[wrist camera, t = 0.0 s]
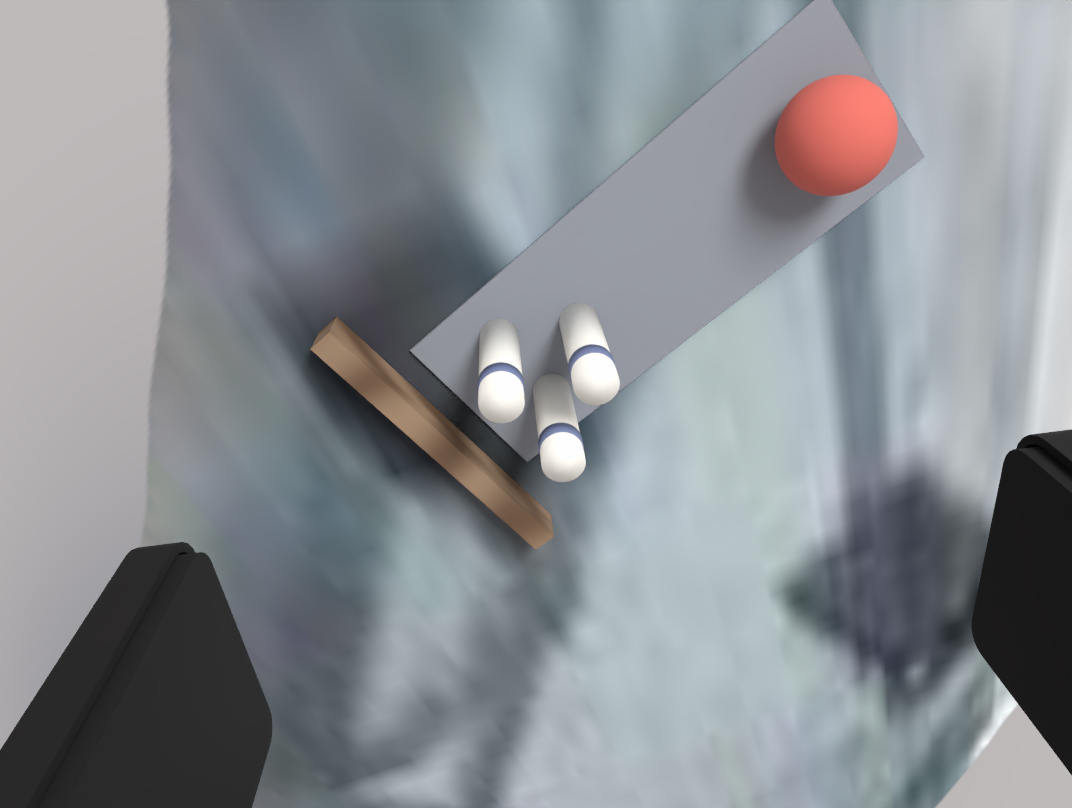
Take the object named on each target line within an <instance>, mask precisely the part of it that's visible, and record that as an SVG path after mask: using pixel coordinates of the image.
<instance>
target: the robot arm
mask: <svg viewBox="0 0 1072 808" xmlns="http://www.w3.org/2000/svg"><path fill="white" fill-rule="evenodd" d="M972 634H973V638H974V641H975V644H976V646H977V648H978V650H979V652H980V653H981V655H982V656H983V658H984V659H985V660H986V662H987V663H988V664H989V666H990V667H991V668H992V670H993V671H994V672H995V674H996V675H997V676H998V678H999V679H1000V680H1001V682H1002V683H1003V684H1004V686H1005V687H1006V688H1007V690H1008V691H1009V692H1010V694H1011V695H1012V696H1013V698H1014V699H1015V700H1016V702H1017V703H1018V704H1019V706H1020V707H1021V708H1022V710H1023V711H1024V712H1025V714H1026V715H1027V716H1028V717H1029V719H1030V720H1031V721H1032V723H1033V724H1034V726H1035V727H1036V728H1037V730H1038V731H1039V732H1040V733H1041V735H1042V736H1043V738H1044V739H1045V740H1046V741H1047V743H1048V744H1049V746H1050V747H1051V748H1052V749H1053V751H1054V752H1055V753H1056V755H1057V756H1058V757H1059V759H1060V760H1061V761H1062V763H1063V764H1064V765H1065V767H1066V768H1067V769H1068V771H1069V772H1070V773H1071V775H1072V430H1065V431H1057V432H1049V433H1041V434H1033V435H1028V436H1026V437H1024V438H1023V439H1022V440H1021V441H1020V442H1019V443H1018V446H1017V448H1016V449H1014V450H1012V451H1010V452H1009V453H1008V454H1007V455H1006V457H1005V460H1004V463H1003V468H1002V473H1001V478H1000V483H999V488H998V493H997V498H996V503H995V508H994V513H993V518H992V523H991V528H990V533H989V538H988V543H987V548H986V553H985V558H984V563H983V568H982V573H981V578H980V583H979V588H978V593H977V598H976V603H975V607H974V612H973V617H972ZM271 738H272V718H271V712H270V709H269V706H268V704H267V701H266V699H265V696H264V694H263V691H262V688H261V686H260V683H259V681H258V678H257V676H256V673H255V671H254V668H253V666H252V663H251V661H250V658H249V656H248V653H247V651H246V648H245V645H244V643H243V640H242V638H241V635H240V633H239V630H238V628H237V625H236V623H235V620H234V618H233V615H232V613H231V610H230V607H229V605H228V602H227V600H226V597H225V595H224V592H223V590H222V587H221V585H220V582H219V580H218V577H217V575H216V572H215V570H214V567H213V564H212V562H211V560H210V558H209V557H208V556H207V555H206V554H205V553H202V552H200V553H195V551H194V549H193V548H192V547H191V546H190V545H189V544H188V543H184V542H180V543H172V544H164V545H156V546H148V547H140V548H136V549H133V550H131V551H130V552H129V553H128V554H127V555H126V557H125V558H124V560H123V561H122V563H121V564H120V566H119V567H118V569H117V571H116V572H115V574H114V575H113V577H112V578H111V580H110V581H109V583H108V584H107V586H106V587H105V589H104V591H103V592H102V594H101V595H100V597H99V598H98V600H97V601H96V603H95V604H94V606H93V608H92V609H91V611H90V612H89V614H88V615H87V617H86V618H85V620H84V621H83V623H82V625H81V626H80V628H79V629H78V631H77V632H76V634H75V635H74V637H73V639H72V640H71V642H70V643H69V645H68V646H67V648H66V649H65V651H64V652H63V654H62V655H61V657H60V659H59V660H58V662H57V664H56V665H55V666H54V668H53V670H52V671H51V673H50V674H49V676H48V677H47V679H46V680H45V682H44V683H43V685H42V686H41V688H40V690H39V691H38V693H37V694H36V696H35V697H34V699H33V701H32V702H31V703H30V705H29V707H28V708H27V710H26V711H25V713H24V714H23V716H22V717H21V719H20V720H19V722H18V724H17V725H16V727H15V728H14V730H13V731H12V733H11V734H10V736H9V738H8V739H7V741H6V742H5V744H4V745H3V747H2V748H1V750H0V808H252V805H253V801H254V798H255V795H256V791H257V788H258V784H259V781H260V777H261V774H262V770H263V767H264V764H265V760H266V757H267V753H268V750H269V746H270V742H271Z"/></svg>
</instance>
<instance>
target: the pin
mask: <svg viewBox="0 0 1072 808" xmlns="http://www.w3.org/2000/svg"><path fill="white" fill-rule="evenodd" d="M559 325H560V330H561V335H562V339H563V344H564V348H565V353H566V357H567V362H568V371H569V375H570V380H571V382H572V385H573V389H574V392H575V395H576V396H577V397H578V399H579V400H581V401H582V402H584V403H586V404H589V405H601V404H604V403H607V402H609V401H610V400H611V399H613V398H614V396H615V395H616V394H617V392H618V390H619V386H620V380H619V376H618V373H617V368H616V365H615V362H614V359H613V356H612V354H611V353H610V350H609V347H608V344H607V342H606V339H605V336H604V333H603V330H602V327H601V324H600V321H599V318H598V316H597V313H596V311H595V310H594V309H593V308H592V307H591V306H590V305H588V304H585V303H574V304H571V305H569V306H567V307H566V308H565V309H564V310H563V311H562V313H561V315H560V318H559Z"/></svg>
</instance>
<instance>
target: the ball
mask: <svg viewBox="0 0 1072 808" xmlns="http://www.w3.org/2000/svg"><path fill="white" fill-rule="evenodd" d="M897 133H898V121H897V115H896V112H895V109H894V107H893V105H892V102H891V100H890V99H889V97H888V96H887V95H886V93H885V92H884V91H883V90H882V89H881V88H880V87H878V86H877V85H876V84H874V83H873V82H871V81H869V80H867V79H864V78H862V77H858V76H854V75H833V76H828V77H825V78H822V79H819V80H817V81H814V82H812V83H811V84H809V85H807V86H806V87H804V88H803V89H802V90H800V91H799V92H798V93H797V94H796V95H795V96H794V97H793V98H792V99H791V100H790V102H789V103H788V104H787V106H786V107H785V109H784V110H783V112H782V114H781V116H780V119H779V121H778V124H777V128H776V133H775V153H776V157H777V160H778V163H779V165H780V168H781V169H782V171H783V173H784V174H785V176H786V177H787V178H788V179H789V180H790V181H791V182H792V183H793V184H794V185H796V186H797V187H799V188H800V189H802V190H804V191H806V192H808V193H811V194H815V195H820V196H838V195H843V194H847V193H851V192H853V191H856V190H858V189H860V188H862V187H863V186H865V185H866V184H868V183H869V182H871V181H872V180H873V179H874V178H875V177H876V176H877V175H878V174H879V173H880V172H881V171H882V170H883V169H884V167H885V166H886V165H887V163H888V161H889V160H890V158H891V156H892V154H893V151H894V148H895V145H896V141H897Z"/></svg>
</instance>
